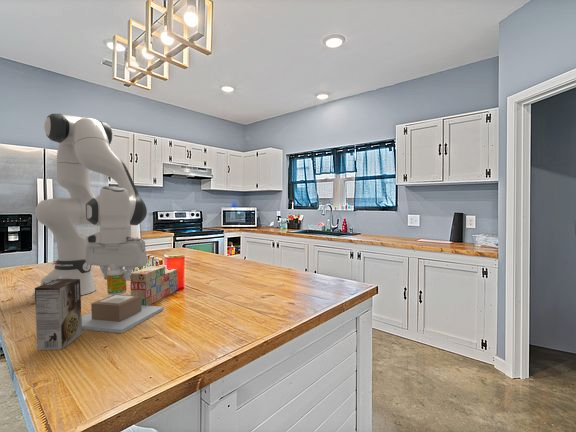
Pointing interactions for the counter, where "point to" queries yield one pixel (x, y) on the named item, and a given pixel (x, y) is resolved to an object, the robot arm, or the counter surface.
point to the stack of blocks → (153, 283)
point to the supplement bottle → (116, 280)
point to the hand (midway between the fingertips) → (116, 279)
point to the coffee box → (58, 313)
